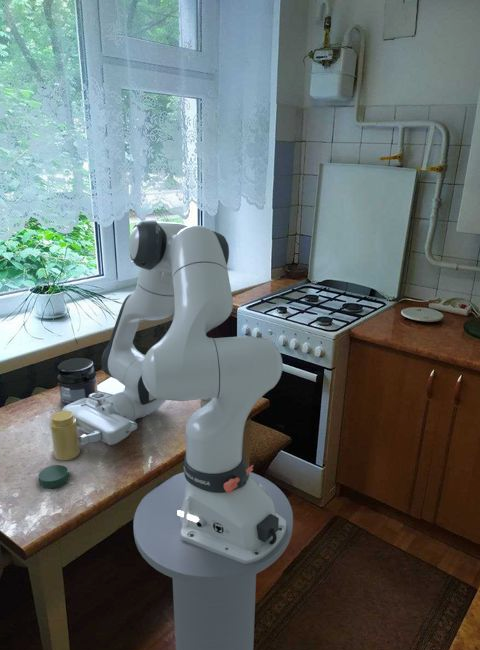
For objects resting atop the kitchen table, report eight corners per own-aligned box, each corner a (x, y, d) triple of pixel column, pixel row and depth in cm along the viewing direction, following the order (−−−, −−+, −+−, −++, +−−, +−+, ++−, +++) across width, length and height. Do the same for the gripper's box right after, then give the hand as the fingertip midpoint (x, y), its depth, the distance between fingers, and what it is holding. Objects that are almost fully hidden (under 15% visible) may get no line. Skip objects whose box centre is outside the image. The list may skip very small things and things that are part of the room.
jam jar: (84, 452, 121) (80, 414, 117) (63, 463, 117) (58, 424, 113) (70, 444, 124) (65, 407, 120) (49, 454, 120) (43, 416, 116)
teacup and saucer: (120, 388, 154) (119, 376, 152) (135, 378, 160) (135, 367, 159) (143, 394, 151) (143, 382, 149) (158, 383, 157) (158, 372, 156)
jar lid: (37, 477, 112) (35, 470, 111) (65, 468, 115) (64, 461, 114) (43, 491, 107) (41, 484, 106) (71, 482, 110) (71, 475, 110)
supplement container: (99, 392, 151) (96, 355, 146) (98, 408, 142) (94, 370, 137) (62, 395, 148) (58, 358, 144) (59, 412, 139) (53, 373, 134)
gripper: (142, 436, 126) (96, 461, 115) (91, 411, 136) (45, 432, 126) (140, 414, 123) (94, 437, 113) (89, 390, 134) (42, 410, 124)
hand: (68, 434), depth 119 cm, fingers open, 8 cm apart
